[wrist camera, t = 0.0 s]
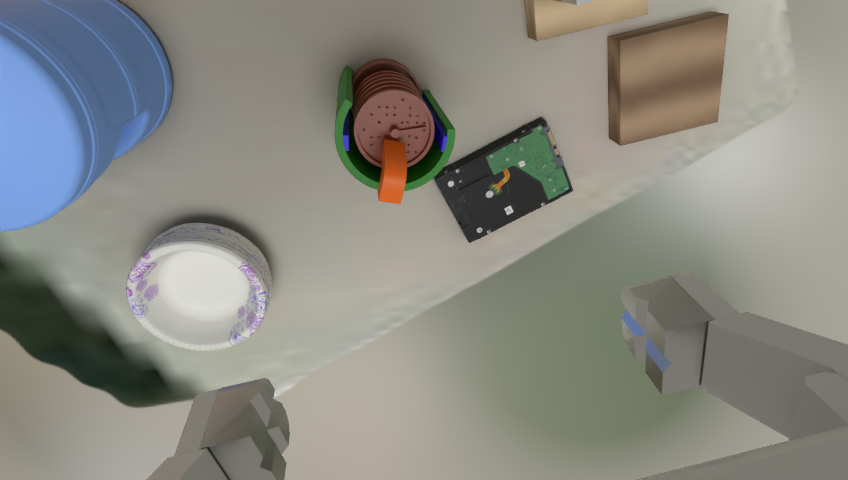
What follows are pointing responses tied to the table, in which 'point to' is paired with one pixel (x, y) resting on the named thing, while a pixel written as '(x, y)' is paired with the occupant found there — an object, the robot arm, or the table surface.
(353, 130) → the motor
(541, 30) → the stand
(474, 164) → the disk drive
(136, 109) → the water jug
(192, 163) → the table surface
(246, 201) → the table surface
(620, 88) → the stand
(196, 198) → the table surface
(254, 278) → the paper bowls
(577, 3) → the block
